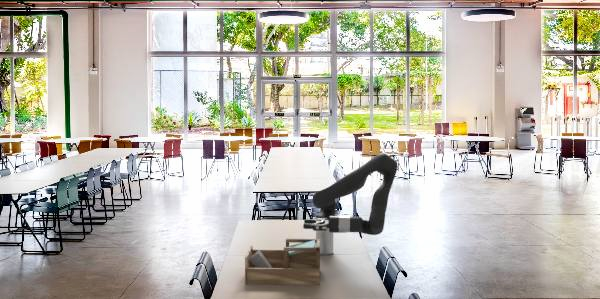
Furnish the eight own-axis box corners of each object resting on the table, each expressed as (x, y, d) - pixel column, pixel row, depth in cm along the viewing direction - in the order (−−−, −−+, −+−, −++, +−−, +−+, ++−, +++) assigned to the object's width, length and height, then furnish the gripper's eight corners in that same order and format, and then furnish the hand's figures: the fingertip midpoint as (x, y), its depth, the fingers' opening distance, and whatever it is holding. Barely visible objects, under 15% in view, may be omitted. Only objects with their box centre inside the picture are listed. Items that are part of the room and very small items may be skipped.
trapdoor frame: (250, 269, 288) (250, 236, 286) (320, 270, 286) (320, 237, 285) (245, 283, 268) (244, 248, 266) (319, 284, 267) (319, 249, 265)
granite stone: (259, 249, 279) (273, 268, 280) (250, 256, 280) (265, 274, 280) (258, 253, 274) (272, 272, 275) (249, 259, 275) (263, 278, 275)
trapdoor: (290, 247, 282) (290, 245, 282) (315, 242, 281) (315, 239, 281) (289, 255, 270) (288, 253, 270) (315, 249, 269) (314, 247, 269)
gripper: (339, 212, 280) (304, 212, 281) (339, 219, 266) (303, 219, 266) (339, 228, 281) (304, 228, 281) (339, 236, 266) (303, 236, 267)
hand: (303, 223), depth 274 cm, fingers open, 8 cm apart
